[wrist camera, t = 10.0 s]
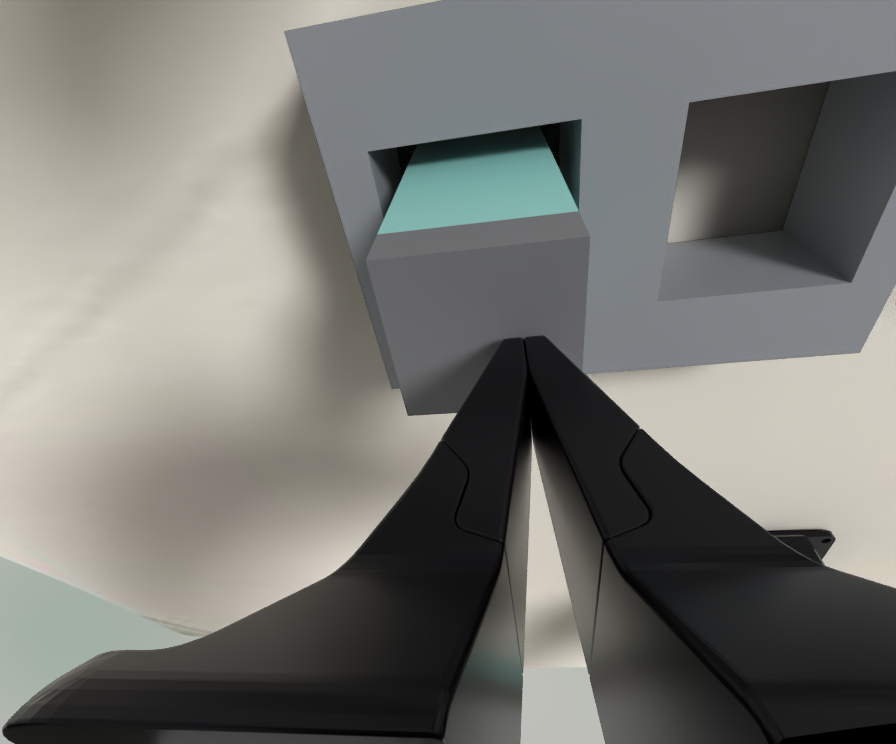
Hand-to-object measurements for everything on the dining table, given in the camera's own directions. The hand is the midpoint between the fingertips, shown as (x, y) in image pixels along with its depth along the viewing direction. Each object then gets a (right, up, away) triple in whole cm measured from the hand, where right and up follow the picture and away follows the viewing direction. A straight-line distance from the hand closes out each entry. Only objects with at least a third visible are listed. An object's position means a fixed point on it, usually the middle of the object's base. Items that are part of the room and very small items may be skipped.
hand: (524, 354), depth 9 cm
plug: (0, +6, +7) cm, 9 cm away
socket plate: (+4, +6, +6) cm, 10 cm away
